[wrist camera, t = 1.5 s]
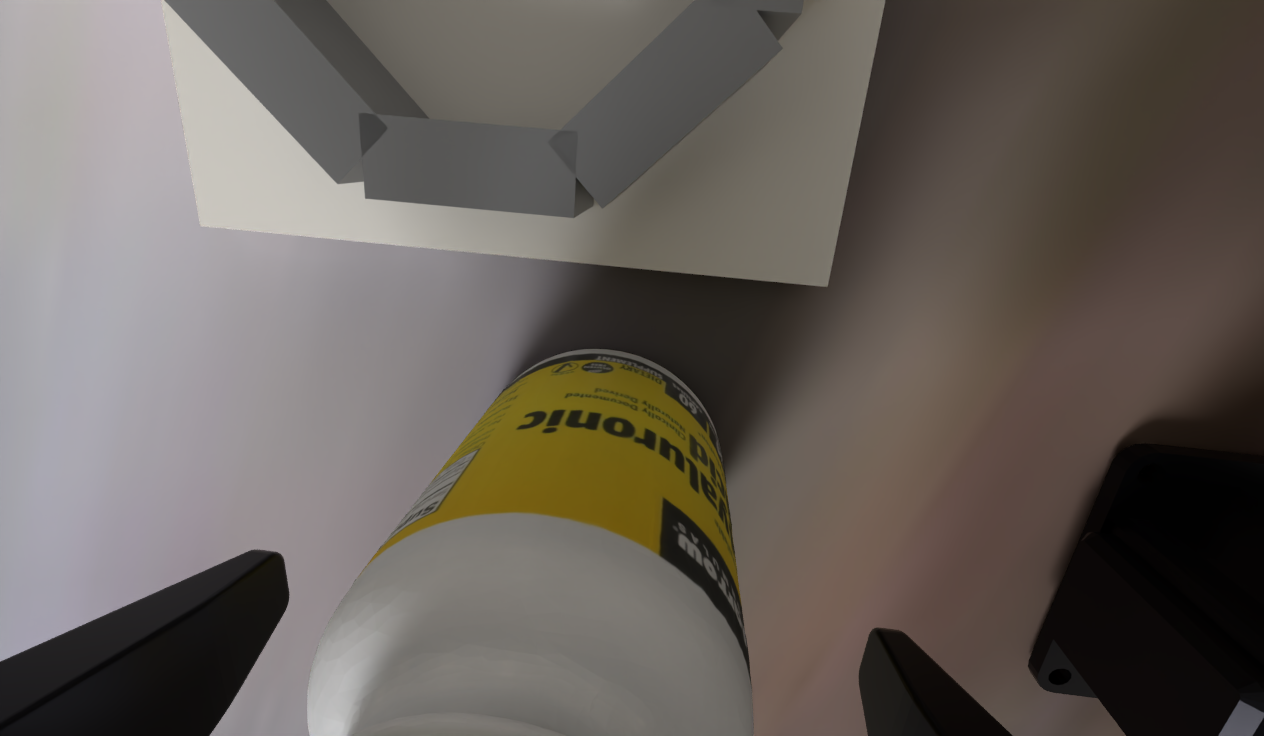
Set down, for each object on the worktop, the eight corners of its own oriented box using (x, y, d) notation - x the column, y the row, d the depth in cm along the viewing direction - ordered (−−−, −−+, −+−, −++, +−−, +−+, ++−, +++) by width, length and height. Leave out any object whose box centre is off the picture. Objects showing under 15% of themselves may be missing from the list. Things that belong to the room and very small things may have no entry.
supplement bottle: (771, 436, 13) (981, 1110, 4) (627, 586, 15) (537, 1294, 6) (573, 289, 12) (246, 700, 3) (445, 467, 14) (-3, 1064, 5)
